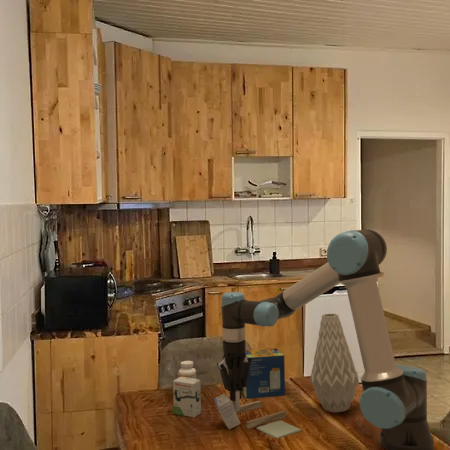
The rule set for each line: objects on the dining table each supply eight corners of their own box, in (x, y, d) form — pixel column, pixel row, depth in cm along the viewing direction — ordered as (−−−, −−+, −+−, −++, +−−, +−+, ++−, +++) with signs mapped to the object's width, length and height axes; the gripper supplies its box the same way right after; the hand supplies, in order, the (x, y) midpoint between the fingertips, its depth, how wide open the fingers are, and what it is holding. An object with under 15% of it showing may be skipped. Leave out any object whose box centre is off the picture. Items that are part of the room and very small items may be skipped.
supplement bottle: (176, 394, 222) (175, 361, 222) (192, 392, 225) (191, 359, 225) (182, 399, 216) (181, 365, 216) (199, 397, 219) (198, 363, 219)
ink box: (172, 414, 202) (172, 380, 201) (180, 409, 206) (179, 376, 206) (194, 417, 198) (193, 383, 197) (201, 413, 202) (200, 379, 202)
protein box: (239, 390, 226) (239, 350, 226) (278, 387, 229) (277, 348, 228) (245, 399, 216) (244, 357, 215) (285, 395, 218) (285, 354, 218)
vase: (308, 416, 197) (301, 319, 197) (315, 399, 213) (309, 310, 212) (359, 417, 193) (352, 319, 192) (362, 401, 208) (356, 309, 208)
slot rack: (285, 417, 196) (285, 411, 196) (248, 428, 187) (248, 422, 187) (259, 406, 208) (259, 400, 208) (222, 416, 198) (222, 410, 198)
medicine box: (241, 424, 187) (231, 400, 186) (228, 430, 186) (218, 406, 185) (235, 415, 195) (225, 392, 194) (223, 421, 194) (213, 398, 193)
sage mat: (301, 430, 184) (301, 429, 184) (276, 438, 178) (276, 437, 178) (280, 421, 192) (280, 420, 192) (256, 429, 186) (256, 427, 186)
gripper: (242, 334, 199) (244, 402, 200) (211, 340, 192) (213, 411, 193) (256, 338, 193) (258, 408, 194) (224, 345, 185) (226, 417, 187)
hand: (236, 409), depth 193 cm, fingers closed
